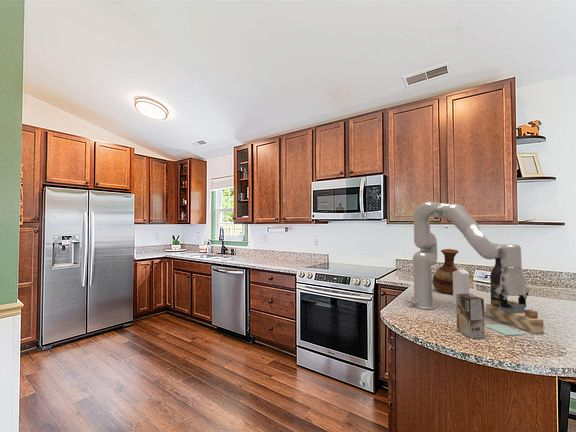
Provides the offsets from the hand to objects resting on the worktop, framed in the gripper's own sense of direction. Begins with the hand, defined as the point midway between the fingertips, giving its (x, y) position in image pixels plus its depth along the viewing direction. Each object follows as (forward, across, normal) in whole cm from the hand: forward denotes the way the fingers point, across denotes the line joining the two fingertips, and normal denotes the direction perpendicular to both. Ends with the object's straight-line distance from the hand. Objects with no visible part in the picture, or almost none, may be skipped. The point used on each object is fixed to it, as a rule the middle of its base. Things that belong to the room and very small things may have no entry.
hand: (513, 307), depth 132 cm
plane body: (+8, 0, 0) cm, 8 cm away
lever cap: (+2, 0, 0) cm, 2 cm away
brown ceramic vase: (+7, +15, +62) cm, 65 cm away
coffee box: (+8, -29, -8) cm, 31 cm away
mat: (+8, -11, -6) cm, 15 cm away
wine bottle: (+8, +8, +16) cm, 19 cm away
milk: (+8, 0, +32) cm, 33 cm away
